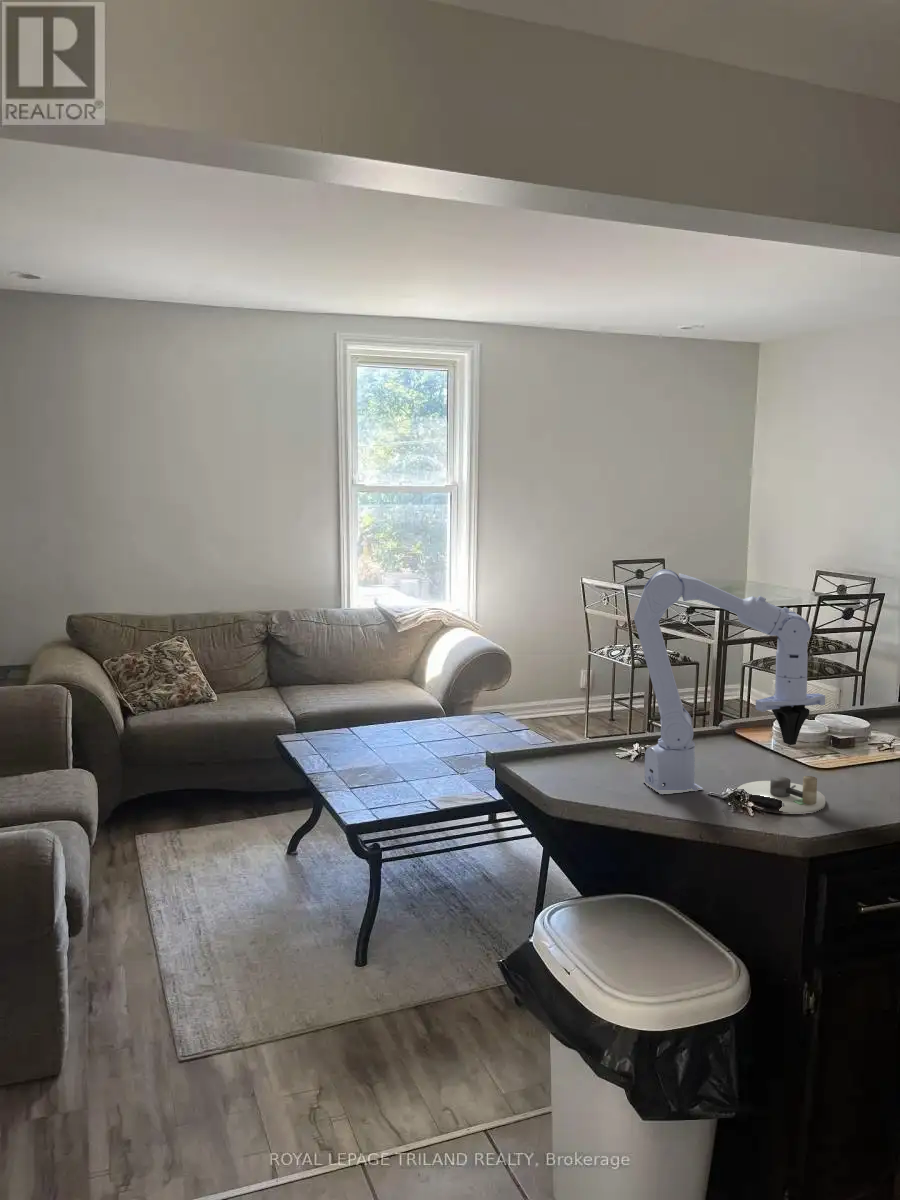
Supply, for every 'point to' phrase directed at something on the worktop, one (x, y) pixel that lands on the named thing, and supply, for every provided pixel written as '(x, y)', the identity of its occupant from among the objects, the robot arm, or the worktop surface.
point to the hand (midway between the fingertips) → (789, 743)
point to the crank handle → (782, 789)
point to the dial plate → (789, 802)
